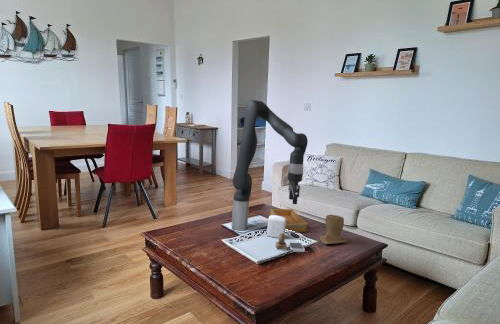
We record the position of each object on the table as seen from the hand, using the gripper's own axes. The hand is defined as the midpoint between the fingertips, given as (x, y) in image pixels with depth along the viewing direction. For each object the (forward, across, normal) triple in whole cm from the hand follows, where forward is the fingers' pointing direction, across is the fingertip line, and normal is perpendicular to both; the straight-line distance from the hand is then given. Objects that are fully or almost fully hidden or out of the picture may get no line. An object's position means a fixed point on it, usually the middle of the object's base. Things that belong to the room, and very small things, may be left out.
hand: (292, 201), depth 182 cm
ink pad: (+24, +6, +2) cm, 24 cm away
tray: (+24, -32, +6) cm, 40 cm away
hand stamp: (+24, +6, -6) cm, 25 cm away
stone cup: (+24, -5, +25) cm, 35 cm away
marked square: (+24, +6, +10) cm, 27 cm away
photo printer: (+24, -10, -6) cm, 26 cm away
